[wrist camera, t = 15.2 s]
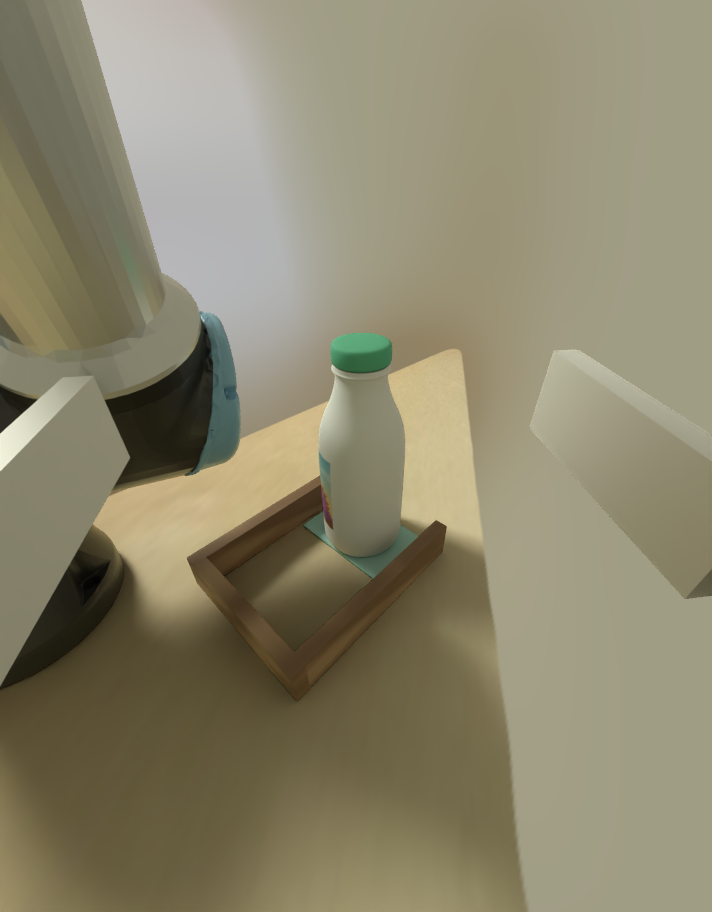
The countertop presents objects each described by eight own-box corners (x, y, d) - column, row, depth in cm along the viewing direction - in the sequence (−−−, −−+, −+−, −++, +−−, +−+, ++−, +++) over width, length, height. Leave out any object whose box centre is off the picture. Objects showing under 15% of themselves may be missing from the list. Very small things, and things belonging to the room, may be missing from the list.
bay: (197, 582, 35) (186, 557, 33) (339, 487, 46) (338, 463, 44) (297, 701, 27) (291, 678, 25) (442, 551, 38) (446, 526, 36)
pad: (303, 526, 41) (303, 524, 41) (349, 494, 45) (349, 492, 45) (382, 586, 34) (382, 585, 34) (427, 543, 39) (427, 541, 38)
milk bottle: (410, 518, 41) (428, 332, 29) (380, 571, 36) (387, 368, 24) (347, 497, 44) (341, 320, 32) (310, 542, 39) (287, 349, 27)
